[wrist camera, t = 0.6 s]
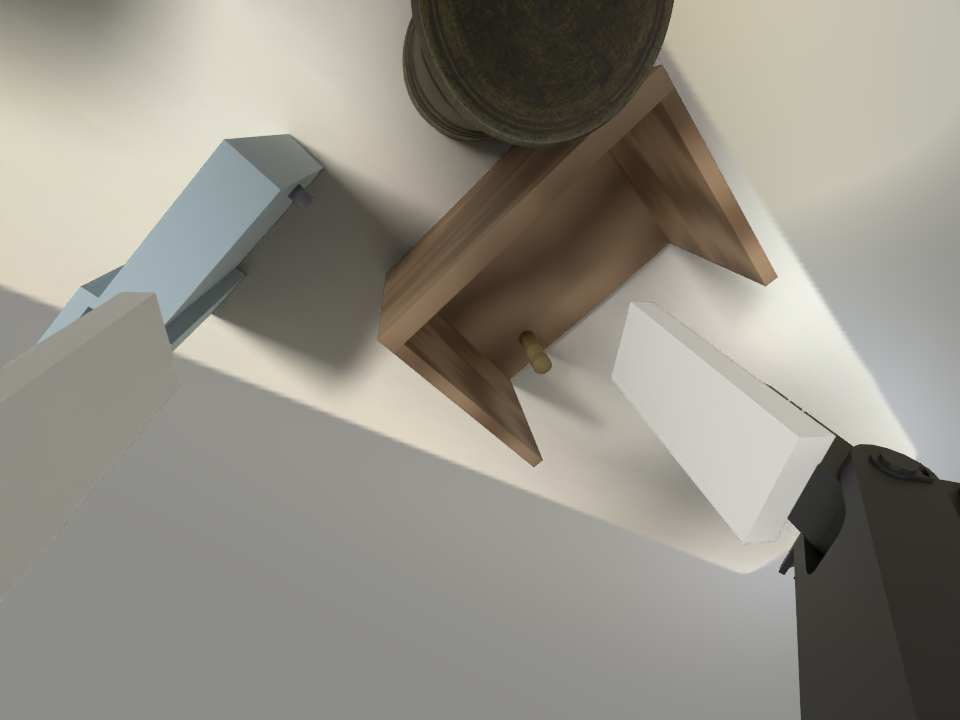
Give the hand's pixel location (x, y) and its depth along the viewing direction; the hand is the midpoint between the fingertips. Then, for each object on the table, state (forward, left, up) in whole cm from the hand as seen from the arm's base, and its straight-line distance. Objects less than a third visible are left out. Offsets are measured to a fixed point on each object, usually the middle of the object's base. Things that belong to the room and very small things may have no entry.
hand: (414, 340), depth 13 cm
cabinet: (+9, +5, -23) cm, 25 cm away
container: (-3, +10, -23) cm, 25 cm away
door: (-7, -9, -23) cm, 26 cm away
